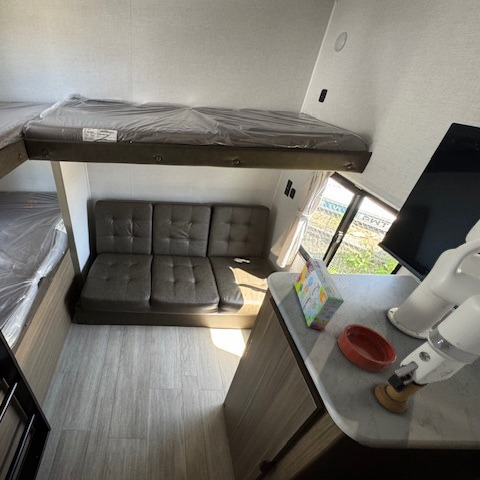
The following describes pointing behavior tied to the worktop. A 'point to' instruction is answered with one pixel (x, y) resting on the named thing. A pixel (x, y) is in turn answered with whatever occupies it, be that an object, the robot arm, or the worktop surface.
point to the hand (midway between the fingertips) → (404, 384)
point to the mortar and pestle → (396, 395)
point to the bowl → (366, 348)
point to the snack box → (317, 294)
